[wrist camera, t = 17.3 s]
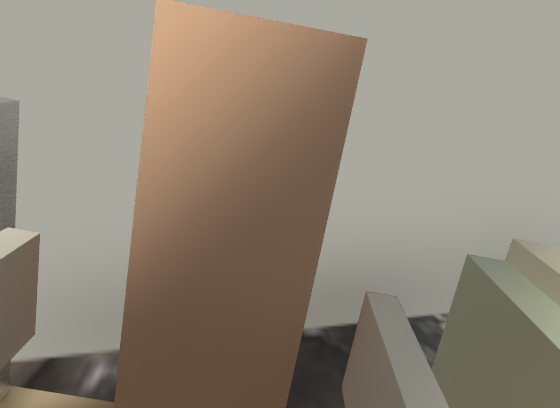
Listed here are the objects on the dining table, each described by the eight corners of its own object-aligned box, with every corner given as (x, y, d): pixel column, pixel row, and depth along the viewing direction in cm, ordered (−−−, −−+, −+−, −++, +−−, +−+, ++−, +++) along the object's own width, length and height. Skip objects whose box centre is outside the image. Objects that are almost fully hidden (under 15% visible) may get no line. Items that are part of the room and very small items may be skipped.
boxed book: (249, 432, 24) (325, 53, 19) (224, 683, 14) (367, 38, 9) (168, 419, 23) (223, 33, 19) (86, 665, 14) (156, -2, 9)
